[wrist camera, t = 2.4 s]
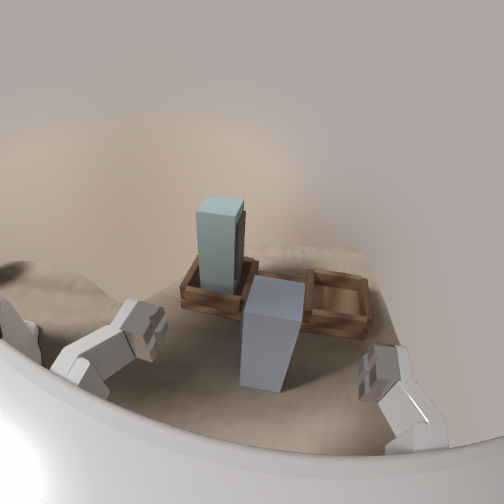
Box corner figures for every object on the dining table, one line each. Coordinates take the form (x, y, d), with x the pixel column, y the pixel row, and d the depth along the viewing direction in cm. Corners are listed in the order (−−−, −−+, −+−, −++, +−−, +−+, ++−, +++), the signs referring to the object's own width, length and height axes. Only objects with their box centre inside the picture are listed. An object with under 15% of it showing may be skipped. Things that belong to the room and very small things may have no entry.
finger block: (236, 384, 32) (239, 310, 24) (244, 353, 36) (250, 274, 28) (279, 392, 32) (301, 321, 24) (284, 360, 36) (305, 283, 28)
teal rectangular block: (201, 293, 43) (195, 211, 35) (210, 272, 47) (208, 194, 39) (235, 299, 42) (238, 217, 34) (242, 278, 46) (247, 199, 38)
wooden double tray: (181, 307, 42) (178, 288, 40) (202, 267, 50) (200, 249, 48) (364, 339, 39) (373, 322, 36) (359, 294, 47) (366, 276, 44)
